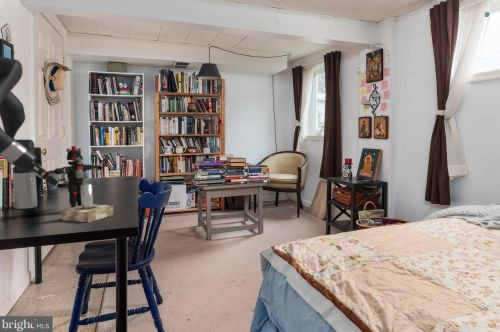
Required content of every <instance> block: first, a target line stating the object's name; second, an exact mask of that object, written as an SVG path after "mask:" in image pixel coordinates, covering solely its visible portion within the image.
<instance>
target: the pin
mask: <svg viewBox="0 0 500 332" xmlns="http://www.w3.org/2000/svg"><path fill="white" fill-rule="evenodd" d="M80 186H81V205H82V209H83V210H89V209H93V204H94V197H93V184H92V183H83V184H82V185H80Z"/></svg>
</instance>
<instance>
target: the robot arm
mask: <svg viewBox="0 0 500 332" xmlns="http://www.w3.org/2000/svg"><path fill="white" fill-rule="evenodd" d="M23 70H24V69H23V65H22V63H21V62H20V60H18V59H15V58H9V57H4V56H0V120H1V124H2V127H3V128H2V127H1V126H0V156H1V157H2V158H3V159H4V160H6V161H7V162H9V163H10V164H11V165H12V166H13V167H12V181H13V182H12V183H13V188H12V197H13V198H12V200H13V208H15V209H17V210H18V209H19V210H21V209H22V210H23V209H32V208H36V207H38V193H37V178H36V177H38V178H40V179H43V180H45V181H46V182H48V183H49V184H50V185H52V186H54V187H55V186H56V185H57V184H59V181H58V180H57V179H55V178H54V177H53V176H52V175H51V173H47V170H46V169H45V168H44V167H43V166H42V165H41V164H40V163H36V161H35V160H36V159H37V155H36V154H35V153H36V152H35V143H34V141H33V140H32V139H16V138H15V136H16V134H17V132H18V131H20V130H19V129H20V128H21V127H22V126H23V124H24V123H25V121H26V113H25V108H24V104H23V103H22V102H21V99H19V98H18V97H17V96H16V95H15V94H14V92H12V90H13V89H14V87H16V85H17V84H19V82H20V80H21V79H22V76H23V74H24V73H23Z"/></svg>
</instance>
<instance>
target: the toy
mask: <svg viewBox="0 0 500 332" xmlns="http://www.w3.org/2000/svg"><path fill="white" fill-rule="evenodd" d="M81 152H82V150H81V148H80V147H79V148H77V146H75V145H74V146H71V149H70V148H67V149H66V153H67V155H66V160H67V164H68V165H69V166H63V167H57V168H55V169H54V170H53V169H52V170H48V171H47V170H46V171H47V173H49V174H55V175H61V174H62V175H63V174H64V175H66V179H67V191H68V193H69V195H68V196H69V197H68V198H69V204H70V205H69V206H70V208H73V207H78V206H82V205H81V186H80V185H82V184H84V179H85V173H84V172H86V171H91V170H97V171H102V170H103V166H102V165H94V164H84V162H83V161H84V157H83V156H82V153H81Z"/></svg>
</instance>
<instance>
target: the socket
mask: <svg viewBox="0 0 500 332" xmlns="http://www.w3.org/2000/svg"><path fill="white" fill-rule="evenodd" d="M77 206H78V207H77ZM77 206H75V207H73V208H71V207H69V208H66V209H62V210H61V221H68V222H81V223H92V222H95V221H98V220H101V219H105V218H107V216H108V217H111V216H114V205H107V204H105V205H104V204H94V203H93V209H89V210H83V209H82V206H79V205H77ZM104 217H105V218H104Z"/></svg>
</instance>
